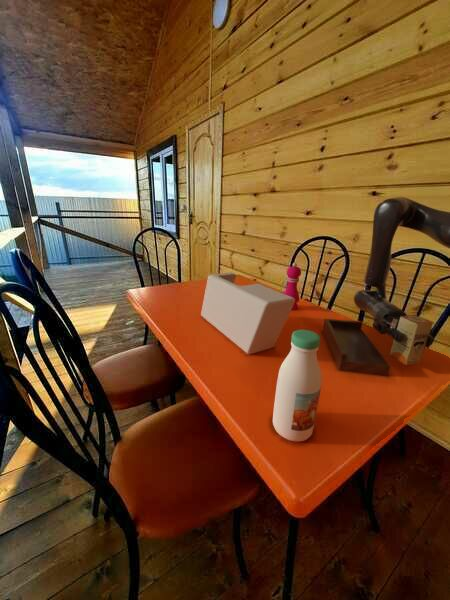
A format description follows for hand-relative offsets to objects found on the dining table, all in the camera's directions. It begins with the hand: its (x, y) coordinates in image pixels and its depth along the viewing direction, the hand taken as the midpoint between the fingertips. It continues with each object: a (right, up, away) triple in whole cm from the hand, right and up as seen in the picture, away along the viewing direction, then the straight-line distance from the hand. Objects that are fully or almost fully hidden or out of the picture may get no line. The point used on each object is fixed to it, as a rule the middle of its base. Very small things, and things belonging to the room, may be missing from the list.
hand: (415, 340), depth 66 cm
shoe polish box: (0, -6, +5) cm, 8 cm away
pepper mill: (-21, +7, +47) cm, 52 cm away
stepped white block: (-45, -1, +21) cm, 50 cm away
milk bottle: (-36, -14, -16) cm, 42 cm away
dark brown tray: (-11, -5, +13) cm, 17 cm away
